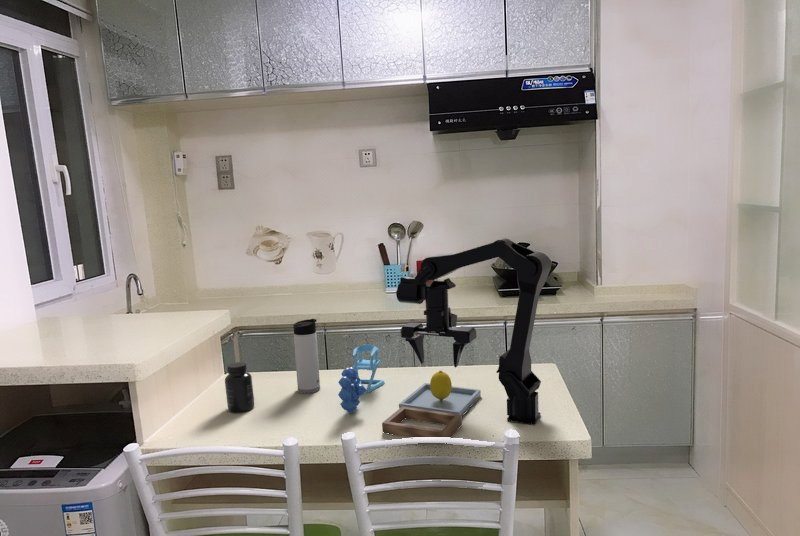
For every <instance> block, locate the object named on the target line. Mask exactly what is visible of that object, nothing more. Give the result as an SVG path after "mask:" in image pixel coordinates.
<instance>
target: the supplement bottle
mask: <svg viewBox="0 0 800 536" xmlns="http://www.w3.org/2000/svg"><path fill="white" fill-rule="evenodd" d="M226 367H227V375H226V376H225V379H224V386H225V395H226V404H227V410H228V412H230V413H233V414H239V413H240V414H241V413H246V412H249V411H250V410H252V409H253V408H255V397H254V396H255V395H254V385H253V377H252V375H251V373H249V372H248V367H247V363H246V362H245V361H237V362H236V361H235V362H232V363H230V364H228V365H227V366H226Z"/></svg>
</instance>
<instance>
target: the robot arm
mask: <svg viewBox="0 0 800 536" xmlns="http://www.w3.org/2000/svg"><path fill="white" fill-rule="evenodd" d="M495 258H499V259H501V260H502V261H503V262H504V263H505V264H507V265H508V267H510V268H511V269H513V270H515V271H516V272H517V273H516V276H517V277H516V279H517V280H516V281H517V285H518V290H519V295H518V301H517V306H516V311H515V317H514V323H513V329H512V335H511V340H510V346H509V349H508V350H507V351H505V352H504V353H502V354H501V355H500V356H499V359H498V367H497V370H496V371H495V372H496V374H498V381H499V382H500V383H501V386H503V387H504V390H505V393H506V396H507V399H506V415H507V418H506V421H507V422H512V423H520V424H527V425H536V423H537V421H538V419H539V418H540V417H541V412H539V392H538V391H537V390H538V389H540V386H541V383H542V380H541V379H540V378H539V377H538V376H537V375H536V374H535V373H534V372H533V371H532V357H531V352H530V347H531V341H532V336H533V331H534V327H535V326H534V325H535V320H536V315H537V309H538V303H539V297H540V294H541V292H542V289H543V287H544V285H545V284H546V282H547V279H548V278H549V274H550V271H551V268H552V261H551V259H550V258H549V256H548V255H547V254H546V253H544V252H542V251H541V252H540V251H539V252H538V251H536V252H535V251H534V250H532V249H531V248H528V247H525V246H522V245H520V244H518V243H516V242H514V241H513V240H512V239H510V238H500V239H497V240H495V241H494V242H490V243H486V244H483V245H480V246H477V247H474V248H471V249H467V250H463V251H459V252H456V253H454V252H453V253H451V252H450V253H442V254H436V255H432V256H428V257H425V258H424V259H422V261H421V264H420V269H419V270H418V272H417V274H416V275H415V277H410V276H406V275H405V276H400V279H399V283H398V285H397V287H396V291H395V295H396V299H397V301H398V302H399V303H402V304H403V303H405V304H415V305H421V304H423V303H425V310H423V315H424V316H425V326H424V325H423V324H422V323H421V322H408V323H405V324H404V325H402V327H401V328H400V337H401V338H403V339H404V340H405V341H406V342H408V343H409V345H410V347H411V348H412V349H413V350H414V353H415V354H416V356H417V358H418V360H419V363H420V364H421V365H424V363H425V352H424V351H425V349H424V339H425V336H433V337H434V336H435V337H447V338H453V340H454V341H455V342H453V343H452V354H453V355H452V357H453V366H454V367H453V368H458V366H459V362H460V359H461V356H462V353H463V350H464V349H465V346H467V345H468V344H471V343H472V342H473V341H474V340H476V338H477V330H476V328H475V327H474V326H463V325H460V326H459V327H458V328H457V324H458V323H457V322H458V314H455V313H452V310H451V307H449V291H448V290H451V289H453V288H456V286H457V285H456V283H454V282H453V281H452V280H451V279H450V278H449V277H447V278H445V279H443V280H437V279H440V278H441V279H442V278H444V277H446V276H448V275H450V274H453V273H454V272H456V271H457V270H459V269H461V268H464V267H467V266H472V265H475V264H478V263H482V262H486V261H489V260H492V259H495ZM430 281H432V282H431V283H429V282H430ZM427 282H428V283H427ZM424 301H425V302H424ZM451 328H456V329H451Z"/></svg>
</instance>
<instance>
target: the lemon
mask: <svg viewBox="0 0 800 536" xmlns="http://www.w3.org/2000/svg"><path fill="white" fill-rule="evenodd" d="M429 384H430V390H431V393H432V395H433V396H434V397H435V398H437V399H439V400H440V401H443V400H444V399H445V398H447V397H448V396H449V395H450V393H451V389H452V386H453V385H452V380H451V377H450V376H449V374H448V373H446V372H444V371H443V370H439V371H436V372H435V373H434V374H432V376H431V378H430V383H429Z"/></svg>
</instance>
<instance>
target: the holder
mask: <svg viewBox="0 0 800 536" xmlns="http://www.w3.org/2000/svg"><path fill="white" fill-rule="evenodd" d="M405 418H406V420H410V419H413V420H412V421H417V420H419V421H418V422H423V421H425V422H424V423H429V422H430V423H431V424H437V425H442V424H444V425H443V426H444V427H443V428H442V429H436V428H430V427H424V426H420V425H419V426H418V425H412V424H407V423H406V424H405V423H402V422H403V421H404V420H405ZM402 420H403V421H402ZM401 421H402V422H401ZM400 422H401V423H400ZM462 424H463V416H462V415H458V414H451V413H444V412H437V411H431V410H424V409H417V408H410V407H403V406H402V407H401V408H400V409H399V408H398V409H397V410H396V411H395V412H393V413H392V414H391V415H390V416H389V417H387V418H386V419H385V420H384V421H382V423H381V427H382V428H381V429H382V433H383V432H384V433H389V434H393V435H392V436H395V437H403V438H407V437H451V438H452V437H453V436H454V435H455V434H456V433H457V432H458V431H459V429H460V428H461V427H462V426H463V425H462ZM461 425H462V426H461ZM460 426H461V427H460ZM459 427H460V428H459ZM456 431H457V432H456ZM455 432H456V433H455ZM384 433H383V434H384ZM454 433H455V434H454ZM389 434H388V435H389ZM453 434H454V435H453Z"/></svg>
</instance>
